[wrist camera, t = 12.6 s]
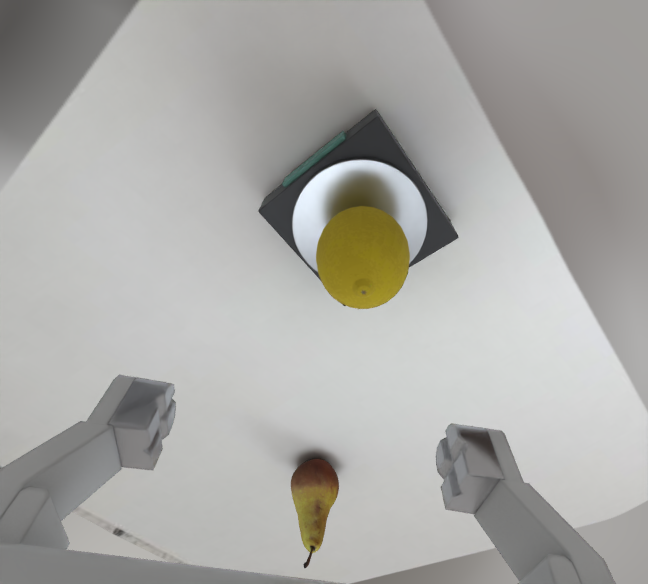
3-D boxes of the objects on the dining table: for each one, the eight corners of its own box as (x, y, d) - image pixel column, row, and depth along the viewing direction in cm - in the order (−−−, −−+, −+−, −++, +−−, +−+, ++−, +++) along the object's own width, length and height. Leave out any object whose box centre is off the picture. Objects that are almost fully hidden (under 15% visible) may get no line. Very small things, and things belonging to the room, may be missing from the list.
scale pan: (265, 212, 28) (264, 215, 27) (376, 125, 24) (376, 127, 24) (345, 301, 31) (345, 305, 31) (451, 236, 28) (453, 240, 27)
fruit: (283, 466, 48) (265, 581, 38) (310, 443, 45) (299, 560, 35) (321, 484, 50) (313, 598, 39) (349, 462, 47) (349, 580, 37)
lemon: (304, 222, 27) (288, 284, 20) (369, 171, 25) (376, 221, 18) (353, 277, 29) (354, 349, 23) (418, 234, 27) (439, 300, 20)
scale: (261, 195, 30) (254, 207, 27) (373, 104, 26) (375, 111, 24) (344, 289, 34) (344, 306, 32) (451, 222, 30) (459, 237, 28)
